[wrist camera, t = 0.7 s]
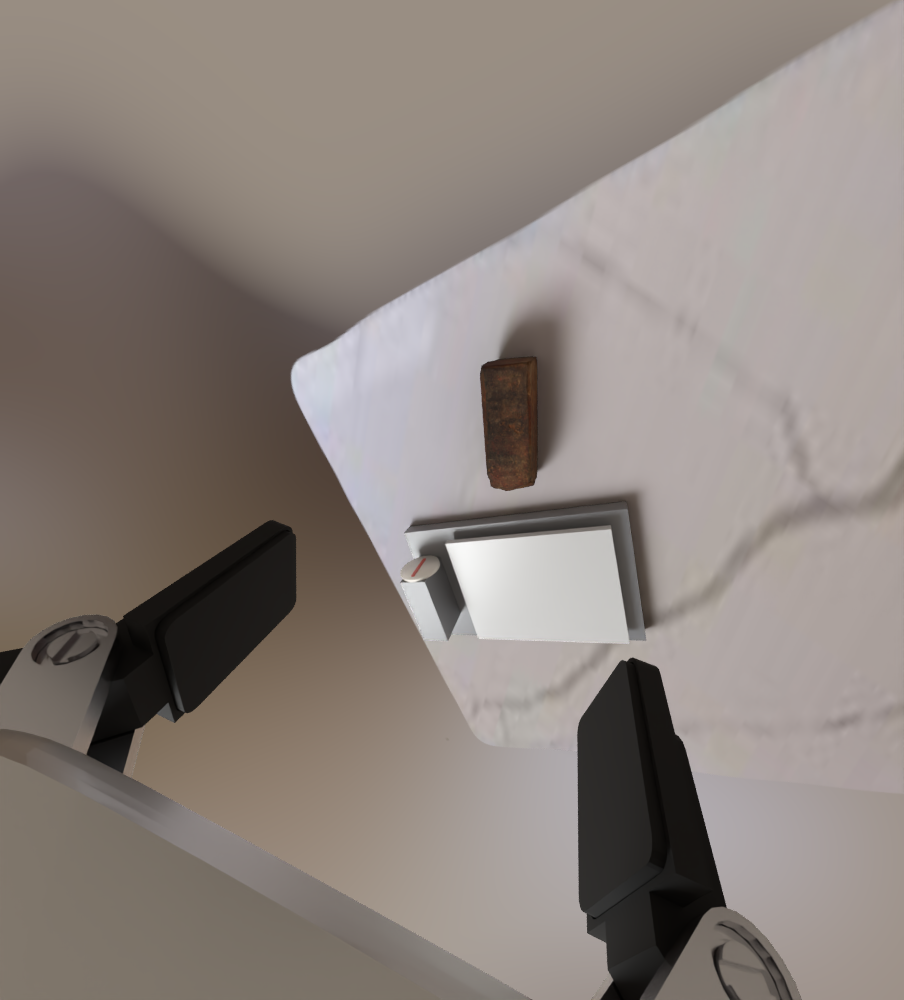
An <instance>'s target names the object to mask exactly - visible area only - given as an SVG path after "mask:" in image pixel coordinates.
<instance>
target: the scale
mask: <svg viewBox="0 0 904 1000" xmlns="http://www.w3.org/2000/svg"><path fill="white" fill-rule="evenodd" d="M404 534H405V537H406V540H407V542H408V545H409V547H410V550H411V552H412V555H413V557H414V560H412V561H410V562H408V563H407V564H406V565H405V566H404V567H403V568H402V570H401V573H400V574H401V577H402V579H403V580H402V581H401V582H400V584H401V586H402V588H403V591H404V593H405V596H406V598H407V600H408V603H409V605H410V607H411V610H412V612H413V615H414V617H415V619H416V622H417V624H418V627H419V629H420V631H421V634H422V636H423V639H424V640H427V641H448V640H449V638H450V636H451V635H477V636H478V639H501V640H530V641H559V642H588V643H617V644H630V641H629V640H642V641H646V635H645V628H644V621H643V614H642V607H641V600H640V592H639V585H638V578H637V571H636V564H635V557H634V550H633V543H632V536H631V529H630V522H629V515H628V508H627V502H626V501H625V502H616V503H608V504H599V505H590V506H582V507H573V508H565V509H556V510H548V511H539V512H530V513H522V514H513V515H505V516H496V517H488V518H479V519H470V520H462V521H453V522H445V523H436V524H428V525H419V526H410V527H409V528H408V529H407V530H406V531H405V533H404Z"/></svg>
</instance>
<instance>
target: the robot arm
mask: <svg viewBox="0 0 904 1000" xmlns="http://www.w3.org/2000/svg"><path fill="white" fill-rule="evenodd" d="M295 602H296V536H295V534H293V532H292V529H291V527H289V526H286V525H284V524H281V523H279V522H276V521H273V520H270V521H268V522H266V523H264V524H263V525H261V526H260V527H258V528H257V529H255V530H254V531H252V532H251V533H249V534H248V535H246V536H244V537H243V538H241V539H240V540H238V541H237V542H235V543H234V544H232V545H231V546H229V547H228V548H226V549H225V550H223V551H222V552H220V553H218V554H217V555H215V556H214V557H212V558H211V559H209V560H208V561H206V562H205V563H203V564H202V565H200V566H199V567H197V568H196V569H194V570H193V571H191V572H190V573H188V574H186V575H185V576H183V577H182V578H180V579H179V580H177V581H176V582H174V583H173V584H171V585H170V586H168V587H167V588H165V589H164V590H162V591H160V592H159V593H157V594H156V595H154V596H153V597H151V598H150V599H148V600H147V601H145V602H144V603H142V604H141V605H139V606H138V607H136V608H135V609H133V610H132V611H130V612H128V613H127V614H126V615H124V616H123V617H124V618H123V619H122V620H120V621H119V622H118V623H115V621H114V620H112V619H111V618H109V617H107V616H102V615H82V616H78V617H73V618H69V619H66V620H63V621H61V622H58V623H56V624H54V625H52V626H50V627H48V628H46V629H44V630H42V631H41V632H40V633H38V634H37V635H36V636H34V637H33V638H32V639H30V641H29V642H28V643H27V644H26V645H25V647H24V648H21V649H16V650H10V651H5V652H0V1000H532V999H530V998H528V997H526V996H524V995H523V994H521V993H519V992H518V991H516V990H514V989H513V988H511V987H509V986H508V985H506V984H504V983H502V982H500V981H499V980H497V979H495V978H494V977H492V976H490V975H489V974H487V973H485V972H483V971H481V970H479V969H478V968H476V967H474V966H472V965H471V964H469V963H467V962H465V961H463V960H462V959H460V958H458V957H456V956H454V955H453V954H451V953H449V952H447V951H445V950H443V949H442V948H440V947H438V946H436V945H435V944H433V943H431V942H429V941H428V940H426V939H424V938H422V937H420V936H419V935H417V934H415V933H413V932H411V931H409V930H408V929H406V928H404V927H402V926H401V925H399V924H397V923H395V922H393V921H392V920H390V919H388V918H386V917H384V916H382V915H381V914H379V913H377V912H375V911H374V910H372V909H370V908H368V907H366V906H365V905H363V904H361V903H359V902H357V901H355V900H354V899H352V898H350V897H348V896H346V895H345V894H343V893H341V892H339V891H337V890H336V889H334V888H332V887H330V886H328V885H326V884H325V883H323V882H321V881H319V880H317V879H316V878H314V877H312V876H310V875H308V874H307V873H305V872H303V871H301V870H299V869H297V868H296V867H294V866H292V865H290V864H288V863H287V862H285V861H283V860H281V859H279V858H277V857H276V856H274V855H272V854H270V853H268V852H266V851H265V850H263V849H261V848H259V847H257V846H255V845H254V844H252V843H250V842H248V841H247V840H245V839H243V838H241V837H239V836H237V835H236V834H234V833H232V832H230V831H228V830H226V829H225V828H223V827H221V826H219V825H217V824H215V823H214V822H212V821H210V820H208V819H206V818H204V817H202V816H201V815H199V814H197V813H195V812H193V811H191V810H190V809H188V808H186V807H184V806H182V805H180V804H179V803H177V802H175V801H173V800H171V799H169V798H167V797H165V796H164V795H162V794H160V793H158V792H156V791H155V790H153V789H151V788H149V787H147V786H145V785H143V784H142V783H140V782H138V781H136V780H134V779H132V778H131V777H132V773H133V770H134V765H135V762H136V758H137V754H138V750H139V746H140V743H141V739H142V734H143V731H144V727H145V724H146V723H147V722H148V721H149V720H150V719H151V718H153V717H154V716H155V715H156V714H158V715H160V716H162V717H164V718H166V719H168V720H170V721H172V722H174V723H175V722H176V721H177V720H178V719H179V718H180V717H181V716H182V715H183V714H184V713H189V712H192V711H193V710H194V709H196V708H197V707H198V706H199V705H200V704H201V703H202V702H203V701H204V700H205V699H206V698H207V697H208V695H210V694H211V693H212V691H214V689H215V688H216V687H217V686H218V685H219V684H220V683H221V682H222V681H223V680H224V679H225V678H226V677H227V676H228V675H229V674H230V673H231V672H232V671H233V670H234V669H235V668H236V667H237V666H238V665H239V664H240V663H241V662H242V661H243V660H244V659H245V658H246V657H247V656H248V655H249V653H250V652H252V650H253V649H254V648H255V647H256V646H257V645H258V644H259V643H260V642H261V641H262V640H263V639H264V638H265V637H266V636H267V635H268V634H269V633H270V632H271V631H272V630H273V629H274V628H275V627H276V626H277V624H279V623H280V622H281V621H282V620H283V619H284V618H285V617H286V615H288V614H289V613H290V611H291V610H292V609H293V607H294V605H295ZM577 738H578V852H579V853H578V858H579V903H580V907H581V910H582V911H583V912H585V913H587V933H588V934H590V935H592V936H594V937H596V938H598V939H600V940H602V941H604V942H606V944H607V964H608V971H609V975H608V976H607V978H606V979H605V980H604V982H603V983H602V985H601V986H600V988H599V989H598V991H597V992H596V994H595V995H594V996H593V998H592V999H591V1000H802V999H801V996H800V994H799V991H798V989H797V986H796V984H795V981H794V980H793V978H792V976H791V974H790V972H789V971H788V969H787V967H786V965H785V964H784V962H783V960H782V958H781V957H780V955H779V954H778V953H777V951H776V950H775V949H774V947H773V946H772V944H771V943H770V942H769V940H768V939H767V938H766V937H765V936H764V935H763V934H762V933H761V932H760V931H759V930H758V929H757V928H756V927H755V926H754V924H752V923H751V922H750V921H749V920H747V919H746V918H745V917H743V916H742V915H740V914H739V913H737V912H736V911H733V910H730V909H727V907H726V903H725V899H724V895H723V892H722V888H721V884H720V880H719V876H718V872H717V868H716V865H715V861H714V857H713V853H712V849H711V845H710V842H709V838H708V834H707V830H706V826H705V822H704V818H703V815H702V811H701V807H700V803H699V799H698V795H697V792H696V788H695V784H694V780H693V776H692V772H691V768H690V765H689V761H688V757H687V753H686V750H685V747H684V744H683V742H682V740H681V739H680V738H679V736H677V735H675V732H674V728H673V724H672V720H671V715H670V711H669V707H668V703H667V699H666V695H665V691H664V687H663V683H662V679H661V675H660V671H659V669H658V668H657V667H656V666H654V665H651V664H648V663H646V662H643V661H640V660H638V659H635V658H630V659H629V660H628V661H627V662H626V661H624V660H622V661H620V662H619V664H618V665H617V667H616V668H615V670H614V671H613V672H612V674H611V675H610V677H609V678H608V680H607V681H606V683H605V684H604V686H603V687H602V688H601V690H600V691H599V693H598V694H597V696H596V697H595V699H594V700H593V702H592V703H591V704H590V706H589V707H588V709H587V710H586V712H585V713H584V715H583V716H582V718H581V719H580V722H579V726H578V734H577Z"/></svg>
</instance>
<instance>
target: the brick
mask: <svg viewBox="0 0 904 1000" xmlns="http://www.w3.org/2000/svg"><path fill="white" fill-rule="evenodd" d="M480 381H481V394H482V408H483V423H484V437H485V452H486V465H487V475H488V478H489V479H490V484H491V486H492V487H493V488H496V489H498V488H499V489H502V490H505V491H510V490H514V489H518V488H524V487H529V486H533V485H534V483H535V479H536V478H537V430H538V429H537V359H536V357H522V358H509V359H499V360H495V361H490V362H487V363H485V364H484V365H482V367H481V372H480Z"/></svg>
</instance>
